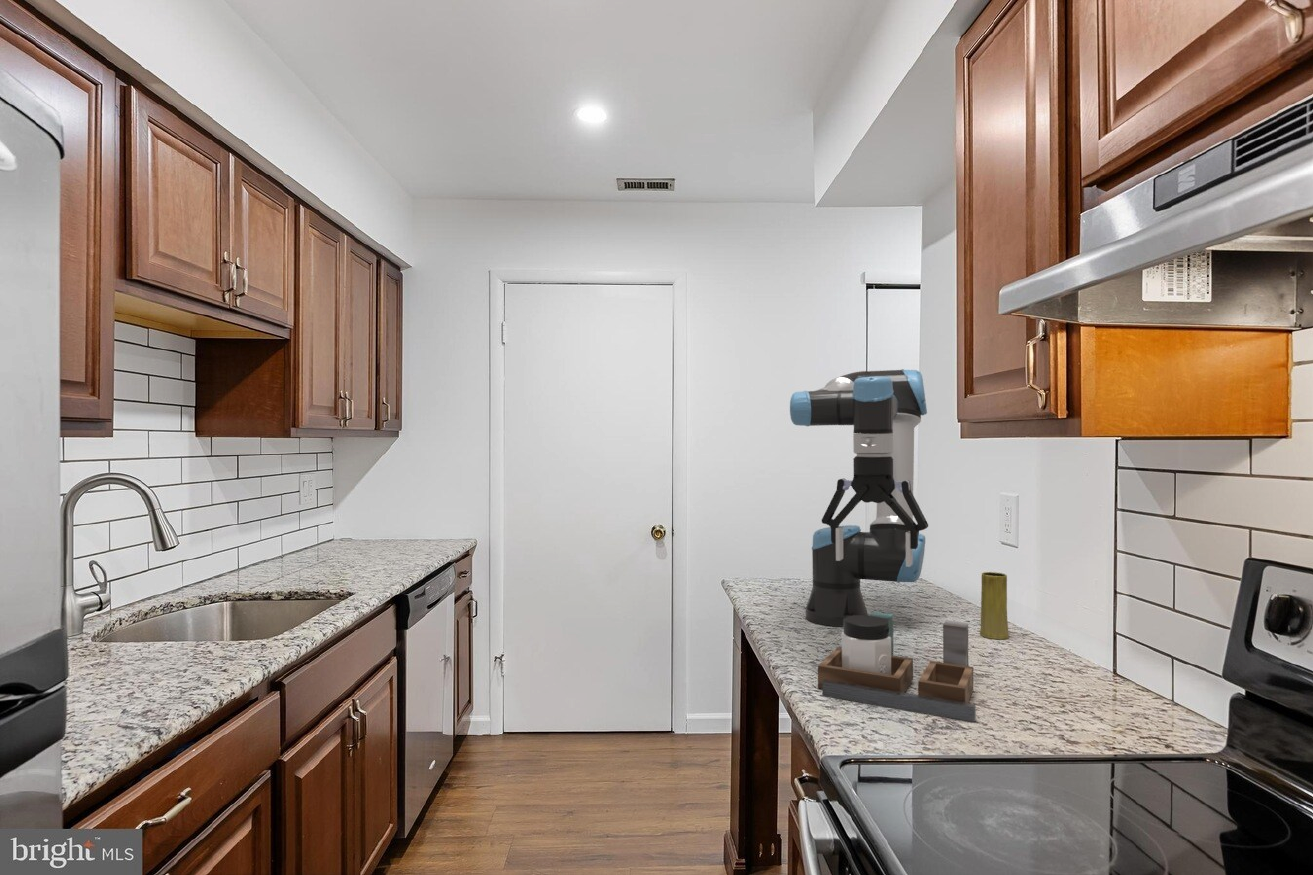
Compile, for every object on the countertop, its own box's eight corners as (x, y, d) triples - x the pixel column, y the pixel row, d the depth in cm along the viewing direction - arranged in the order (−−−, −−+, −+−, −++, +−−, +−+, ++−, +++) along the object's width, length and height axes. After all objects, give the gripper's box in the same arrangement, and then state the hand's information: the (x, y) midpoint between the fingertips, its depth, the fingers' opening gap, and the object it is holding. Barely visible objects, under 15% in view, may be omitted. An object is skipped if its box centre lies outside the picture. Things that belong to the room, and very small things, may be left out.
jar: (867, 696, 130) (867, 628, 130) (832, 683, 136) (832, 619, 136) (900, 686, 135) (900, 621, 134) (865, 674, 141) (865, 612, 141)
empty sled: (936, 669, 143) (936, 619, 143) (978, 675, 140) (977, 623, 139) (918, 704, 125) (918, 646, 125) (964, 712, 121) (964, 652, 121)
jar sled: (847, 657, 152) (847, 608, 152) (920, 667, 145) (920, 617, 145) (817, 687, 133) (817, 633, 133) (899, 701, 126) (899, 643, 126)
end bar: (824, 692, 131) (824, 679, 131) (975, 718, 119) (975, 704, 119) (822, 695, 130) (822, 682, 130) (974, 722, 118) (974, 707, 118)
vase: (1006, 641, 163) (1005, 577, 163) (976, 636, 167) (976, 574, 167) (1011, 635, 168) (1011, 573, 168) (983, 631, 172) (982, 570, 172)
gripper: (805, 455, 147) (806, 560, 148) (936, 457, 135) (937, 571, 135) (817, 453, 154) (818, 554, 154) (943, 455, 141) (943, 564, 142)
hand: (873, 562), depth 145 cm, fingers open, 13 cm apart
